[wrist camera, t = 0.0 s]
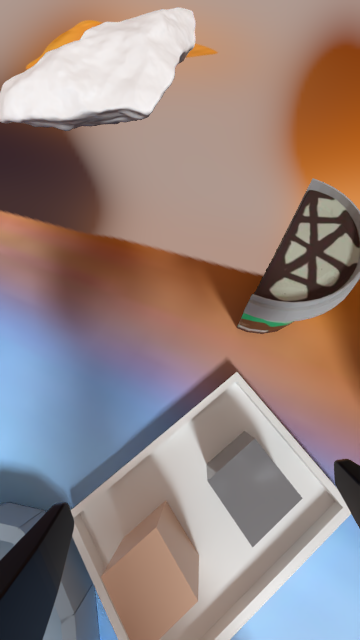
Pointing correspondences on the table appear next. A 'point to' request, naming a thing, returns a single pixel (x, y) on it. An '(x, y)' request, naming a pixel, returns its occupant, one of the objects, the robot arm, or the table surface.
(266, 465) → the gray chunky prism
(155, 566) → the matte tan cube
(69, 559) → the bowl
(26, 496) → the table surface
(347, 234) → the food container
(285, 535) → the parts tray
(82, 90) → the white lumpy chunk
